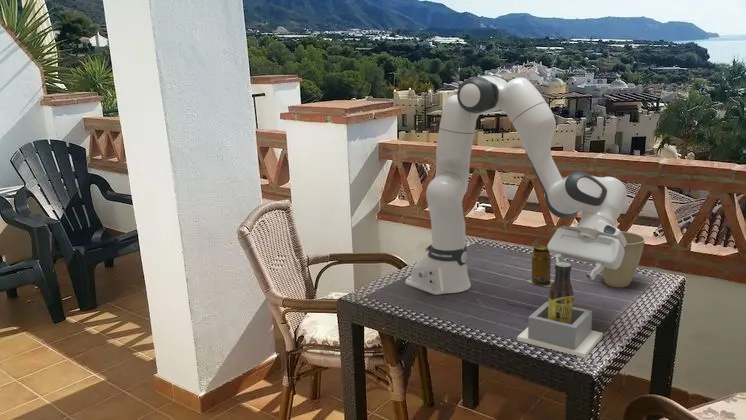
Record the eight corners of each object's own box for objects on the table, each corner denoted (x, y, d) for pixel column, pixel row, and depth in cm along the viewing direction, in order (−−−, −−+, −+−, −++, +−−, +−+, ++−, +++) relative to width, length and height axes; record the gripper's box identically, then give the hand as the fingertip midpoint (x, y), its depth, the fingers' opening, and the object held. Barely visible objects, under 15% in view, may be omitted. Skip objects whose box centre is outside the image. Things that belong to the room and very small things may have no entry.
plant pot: (635, 295, 182) (638, 246, 179) (587, 286, 191) (589, 240, 188) (647, 280, 194) (650, 234, 190) (601, 272, 203) (603, 228, 199)
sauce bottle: (555, 341, 153) (557, 269, 148) (542, 331, 159) (543, 262, 154) (577, 337, 155) (579, 266, 150) (563, 327, 161) (565, 258, 156)
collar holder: (517, 340, 157) (517, 315, 155) (538, 321, 168) (538, 298, 166) (584, 358, 146) (585, 331, 144) (602, 336, 157) (603, 312, 155)
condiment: (538, 276, 203) (539, 243, 200) (560, 282, 196) (561, 248, 193) (525, 281, 198) (526, 248, 195) (547, 288, 192) (548, 253, 189)
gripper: (555, 218, 166) (535, 259, 162) (626, 231, 151) (605, 277, 147) (563, 230, 170) (543, 270, 166) (632, 244, 155) (613, 288, 151)
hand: (573, 273), depth 157 cm, fingers open, 8 cm apart
